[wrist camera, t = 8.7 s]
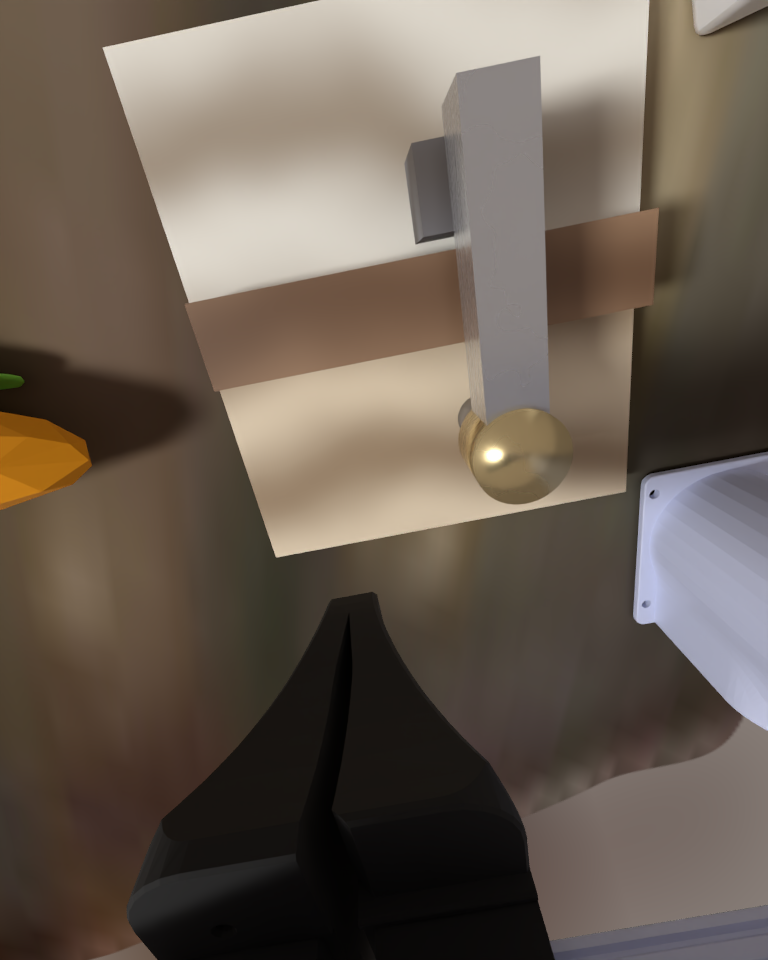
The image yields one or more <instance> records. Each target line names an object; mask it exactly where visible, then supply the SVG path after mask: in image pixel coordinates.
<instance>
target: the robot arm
mask: <svg viewBox="0 0 768 960" xmlns="http://www.w3.org/2000/svg"><path fill="white" fill-rule="evenodd" d="M653 490H655V491H654V493H653V494H652V495H650V492H651V491H653ZM649 495H650V496H649ZM644 601H645V602H644ZM643 602H644V603H643ZM633 616H634V619H635V620H636V621H637V622H638V623H640V624H647V623H653V622H655V623H656V624H657V625H658V626H659V627H660V628H661V629H662V630H663V631H664V633H665V634H666V635H667V636H668V637H669V638H670V639H671V640H672V641H673V643H674V644H675V645H676V646H677V647H678V648H679V649H680V650H681V651H682V652H683V654H684V655H685V656H686V657H687V658H688V659H689V660H690V661H691V662H692V664H693V665H694V666H695V667H696V668H697V669H698V670H699V671H700V672H701V673H702V675H703V676H704V677H705V678H706V679H707V680H708V681H709V682H710V683H711V685H712V686H713V687H714V688H715V689H716V690H717V691H718V692H719V693H720V694H721V696H722V697H723V698H724V699H725V700H726V701H727V702H728V703H729V704H730V705H731V706H732V707H733V708H734V709H735V710H737V711H738V712H739V713H741V714H742V715H743V716H744V717H746V718H747V719H749V720H750V721H752V722H753V723H755V724H757V725H758V726H760V727H762V728H764V729H765V730H767V731H768V452H764V453H758V454H753V455H748V456H742V457H737V458H732V459H727V460H721V461H716V462H711V463H705V464H700V465H695V466H689V467H684V468H679V469H674V470H668V471H663V472H658V473H652V474H649V475H647V476H646V477H644V479H643V480H642V483H641V493H640V510H639V527H638V544H637V561H636V577H635V594H634V611H633ZM127 919H128V921H129V923H130V925H131V927H132V928H133V930H134V932H135V933H136V935H137V936H138V937H139V938H140V939H141V940H142V942H143V943H144V944H145V945H146V946H147V947H148V949H149V950H150V951H151V952H152V954H153V955H154V956H155V957H156V958H157V960H768V905H764V906H759V907H753V908H746V909H740V910H734V911H728V912H722V913H716V914H711V915H704V916H698V917H692V918H686V919H679V920H674V921H668V922H661V923H655V924H649V925H643V926H638V927H631V928H625V929H619V930H613V931H607V932H601V933H595V934H588V935H582V936H576V937H570V938H565V939H558V940H552V941H549V938H548V934H547V931H546V927H545V924H544V921H543V917H542V914H541V911H540V907H539V904H538V895H537V891H536V888H535V884H534V881H533V878H532V874H531V871H530V867H529V856H528V846H527V836H526V832H525V828H524V825H523V823H522V821H521V818H520V816H519V813H518V811H517V809H516V807H515V805H514V803H513V801H512V800H511V798H510V796H509V794H508V793H507V791H506V789H505V788H504V786H503V784H502V783H501V781H500V779H499V778H498V776H497V775H496V773H495V772H494V770H493V768H492V767H491V765H490V763H489V762H488V761H487V760H486V759H485V758H484V757H483V756H482V755H481V754H480V753H478V752H477V751H476V750H475V749H474V748H473V747H472V746H471V745H470V744H469V743H468V742H467V741H466V740H465V739H464V738H463V737H462V736H461V735H460V734H459V733H458V732H457V731H456V730H455V728H454V727H453V726H452V725H451V724H450V723H449V722H448V721H447V720H446V718H445V717H444V716H443V715H442V714H441V713H440V711H439V710H438V709H437V708H436V707H435V705H434V704H433V703H432V702H431V701H430V699H429V698H428V697H427V696H426V694H425V693H424V692H423V690H422V689H421V688H420V686H419V685H418V683H417V682H416V680H415V679H414V678H413V676H412V675H411V673H410V672H409V670H408V668H407V667H406V665H405V664H404V662H403V660H402V659H401V657H400V655H399V653H398V652H397V650H396V648H395V646H394V644H393V642H392V640H391V638H390V636H389V634H388V632H387V630H386V628H385V625H384V623H383V619H382V615H381V610H380V606H379V602H378V598H377V594H375V593H373V592H369V593H364V594H359V595H353V596H348V597H342V598H337V599H332V600H331V601H330V602H329V604H328V607H327V609H326V611H325V613H324V616H323V618H322V620H321V622H320V624H319V626H318V628H317V630H316V632H315V634H314V636H313V638H312V640H311V642H310V644H309V646H308V647H307V649H306V651H305V653H304V655H303V657H302V658H301V660H300V662H299V663H298V665H297V667H296V668H295V670H294V672H293V673H292V675H291V677H290V678H289V680H288V681H287V683H286V685H285V686H284V688H283V689H282V691H281V692H280V693H279V695H278V696H277V698H276V699H275V701H274V702H273V703H272V705H271V706H270V707H269V709H268V710H267V711H266V713H265V714H264V715H263V717H262V718H261V719H260V720H259V722H258V723H257V724H256V725H255V727H254V728H253V729H252V730H251V732H250V733H249V734H248V735H247V736H246V738H245V739H244V740H243V741H242V742H241V743H240V745H239V746H238V747H237V748H236V749H235V750H234V751H233V752H232V753H231V754H230V755H229V756H228V757H227V759H226V760H225V761H224V762H223V763H222V764H221V765H220V766H219V767H218V768H217V769H216V770H215V771H214V772H213V773H212V774H211V775H210V776H209V777H208V778H207V779H206V780H205V781H204V782H203V783H202V784H201V785H200V786H198V787H197V788H196V789H195V790H194V791H193V792H192V793H191V794H190V795H189V796H187V797H186V798H185V799H184V800H183V801H182V802H181V803H180V804H179V805H178V806H176V807H175V808H174V809H173V810H172V811H171V812H170V813H169V814H168V815H166V816H165V817H164V818H163V819H162V820H161V822H160V825H159V827H158V829H157V831H156V833H155V836H154V838H153V840H152V842H151V844H150V847H149V849H148V852H147V854H146V857H145V859H144V862H143V865H142V867H141V870H140V873H139V875H138V878H137V881H136V883H135V886H134V889H133V891H132V894H131V897H130V899H129V902H128V905H127Z"/></svg>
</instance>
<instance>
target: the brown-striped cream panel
mask: <svg viewBox="0 0 768 960" xmlns="http://www.w3.org/2000/svg"><path fill="white" fill-rule="evenodd" d="M648 19H649V0H319V1H314V2H310V3H305V4H301V5H296V6H291V7H287V8H282V9H278V10H273V11H268V12H264V13H259V14H255V15H250V16H246V17H241V18H236V19H232V20H227V21H223V22H218V23H213V24H209V25H204V26H200V27H195V28H191V29H186V30H181V31H177V32H172V33H168V34H163V35H159V36H154V37H149V38H145V39H140V40H136V41H131V42H126V43H122V44H117V45H113V46H108V47H104V48H103V50H104V53H105V56H106V59H107V61H108V64H109V67H110V70H111V73H112V76H113V79H114V82H115V85H116V88H117V91H118V94H119V97H120V100H121V103H122V106H123V109H124V112H125V115H126V118H127V121H128V124H129V126H130V129H131V132H132V135H133V138H134V141H135V144H136V147H137V150H138V153H139V156H140V159H141V162H142V165H143V168H144V171H145V174H146V177H147V180H148V183H149V186H150V188H151V191H152V194H153V197H154V200H155V203H156V206H157V209H158V212H159V215H160V218H161V221H162V224H163V227H164V230H165V233H166V236H167V239H168V242H169V245H170V248H171V251H172V253H173V256H174V259H175V262H176V265H177V268H178V271H179V274H180V277H181V280H182V283H183V286H184V289H185V292H186V295H187V298H188V301H189V303H187V304H185V307H186V310H187V313H188V316H189V319H190V322H191V325H192V328H193V330H194V333H195V336H196V339H197V342H198V345H199V348H200V351H201V354H202V357H203V360H204V363H205V365H206V368H207V371H208V374H209V377H210V380H211V383H212V386H213V389H214V392H215V391H220V393H221V396H222V399H223V401H224V404H225V407H226V410H227V413H228V416H229V419H230V422H231V425H232V428H233V431H234V434H235V437H236V440H237V443H238V446H239V449H240V452H241V455H242V458H243V461H244V464H245V467H246V470H247V473H248V476H249V478H250V481H251V484H252V487H253V490H254V493H255V496H256V499H257V502H258V505H259V508H260V511H261V514H262V517H263V520H264V523H265V526H266V529H267V532H268V535H269V538H270V541H271V544H272V547H273V550H274V552H275V555H276V557H281V556H287V555H292V554H297V553H303V552H308V551H313V550H319V549H324V548H329V547H334V546H340V545H345V544H350V543H356V542H361V541H366V540H372V539H377V538H382V537H388V536H393V535H398V534H403V533H409V532H414V531H419V530H425V529H430V528H435V527H441V526H446V525H451V524H457V523H462V522H467V521H472V520H478V519H483V518H488V517H494V516H499V515H504V514H510V513H515V512H520V511H526V510H531V509H536V508H541V507H547V506H552V505H557V504H563V503H568V502H573V501H579V500H584V499H589V498H595V497H600V496H605V495H611V494H616V493H621V492H626V477H627V454H628V431H629V408H630V386H631V363H632V340H633V318H634V308H639V307H644V306H649V305H653V298H654V281H655V265H656V248H657V232H658V215H659V208H654V209H649V210H644V211H640V195H641V173H642V151H643V129H644V107H645V85H646V63H647V41H648ZM536 56H540V65H541V103H542V140H543V178H544V215H545V253H546V290H547V328H548V365H549V402H550V415H552V416H554V417H555V418H557V419H558V420H559V421H560V422H562V423H563V425H564V426H565V427H566V428H567V430H568V432H569V434H570V436H571V439H572V443H573V458H572V463H571V466H570V469H569V471H568V473H567V475H566V477H565V478H564V480H563V481H562V482H561V484H560V485H559V486H558V487H557V488H556V489H555V490H554V491H552V492H551V493H550V494H548V495H547V496H545V497H543V498H541V499H539V500H537V501H534V502H531V503H527V504H520V505H513V504H506V503H502V502H499V501H497V500H495V499H493V498H491V497H490V496H489V495H488V494H486V493H485V492H484V490H483V489H482V488H481V486H480V485H479V483H478V482H477V480H476V479H475V477H474V476H473V474H472V472H471V471H470V469H469V468H468V466H467V465H466V463H465V461H464V460H463V458H462V456H461V453H460V450H459V445H458V437H459V431H460V427H461V425H462V422H463V420H464V419H465V417H466V416H467V414H468V413H469V412H470V411H471V409H472V407H471V397H470V387H469V377H468V367H467V357H466V347H465V338H464V328H463V318H462V308H461V298H460V288H459V278H458V268H457V258H456V248H455V238H454V228H453V218H452V208H451V198H450V188H449V178H448V168H447V158H446V148H445V138H444V128H443V119H442V109H441V106H442V104H443V102H444V99H445V97H446V95H447V93H448V90H449V88H450V86H451V84H452V81H453V79H454V77H455V74H456V73H458V72H463V71H468V70H473V69H478V68H483V67H487V66H492V65H497V64H502V63H507V62H512V61H516V60H521V59H526V58H531V57H536Z"/></svg>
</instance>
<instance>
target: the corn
mask: <svg viewBox="0 0 768 960" xmlns="http://www.w3.org/2000/svg"><path fill="white" fill-rule="evenodd" d="M23 383H24V380H23V379H22V377H21V376H16V375H12V374H3V373H0V390H1V389H10V388H16V387H20V386H21V385H22V384H23ZM91 466H92V464H91V460H90V456H89V453H88V449H87V445H86V442H85V440H84V439H82V438H80V437H78V436H76V435H74V434H72V433H70V432H68V431H67V430H65V429H63V428H61V427H59V426H57V425H55V424H53V423H51V422H49V421H48V420H45V419H39V418H34V417H28V416H22V415H17V414H11V413H5V412H0V510H2V509H5V508H8V507H11V506H13V505H16V504H19V503H22V502H25V501H27V500H30V499H33V498H36V497H39V496H41V495H44V494H47V493H50V492H53V491H55V490H58V489H61V488H64V487H67V486H69V485H72V484H74V483H75V482H76V481H77V480H78V479H79V478H80V477H81V476H82V475H83V474H84V473H85V472H86V471H87V470H88V469H89V468H90V467H91Z"/></svg>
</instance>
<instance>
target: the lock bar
mask: <svg viewBox="0 0 768 960" xmlns="http://www.w3.org/2000/svg"><path fill="white" fill-rule="evenodd" d="M441 109H442V119H443V128H444V138H445V148H446V158H447V168H448V178H449V188H450V198H451V208H452V218H453V228H454V238H455V248H456V258H457V268H458V278H459V288H460V298H461V308H462V318H463V328H464V338H465V347H466V357H467V367H468V377H469V387H470V397H471V407H472V409H471V411H470V412H469V413H468V414H467V416H466V417H465V419H464V420H463V422H462V425H461V427H460V431H459V437H458V445H459V450H460V453H461V456H462V458H463V460H464V461H465V463H466V465H467V466H468V468H469V469H470V471H471V472H472V474H473V476H474V477H475V479H476V480H477V482H478V483H479V485H480V486H481V488H482V489H483V490H484V492H485V493H486V494H488V495H489V496H490V497H491V498H493V499H495V500H497V501H499V502H502V503H506V504H513V505H520V504H527V503H531V502H534V501H537V500H539V499H541V498H543V497H545V496H547V495H548V494H550V493H551V492H552V491H554V490H555V489H556V488H557V487H558V486H559V485H560V484H561V482H562V481H563V480H564V478H565V477H566V475H567V473H568V471H569V469H570V466H571V463H572V458H573V443H572V439H571V436H570V434H569V432H568V430H567V428H566V427H565V426H564V425H563V423H562V422H560V421H559V420H558V419H557V418H555V417H554V416H552V415H550V402H549V365H548V328H547V290H546V253H545V215H544V178H543V140H542V103H541V65H540V56H536V57H531V58H526V59H521V60H516V61H512V62H507V63H502V64H497V65H492V66H487V67H483V68H478V69H473V70H468V71H463V72H458V73H456V74H455V77H454V79H453V81H452V84H451V86H450V88H449V90H448V93H447V95H446V97H445V99H444V102H443V104H442V106H441Z"/></svg>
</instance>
